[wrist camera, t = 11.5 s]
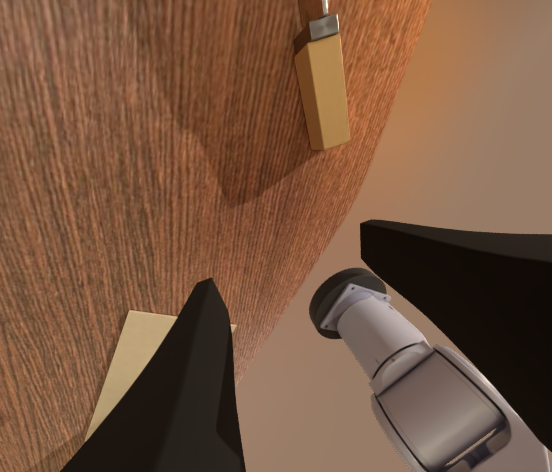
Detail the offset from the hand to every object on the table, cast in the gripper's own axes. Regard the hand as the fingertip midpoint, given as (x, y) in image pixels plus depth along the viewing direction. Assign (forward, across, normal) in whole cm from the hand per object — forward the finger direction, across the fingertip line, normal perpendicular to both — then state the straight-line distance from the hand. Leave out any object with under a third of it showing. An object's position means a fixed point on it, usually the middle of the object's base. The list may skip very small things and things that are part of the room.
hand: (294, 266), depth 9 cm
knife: (+9, -6, -10) cm, 15 cm away
